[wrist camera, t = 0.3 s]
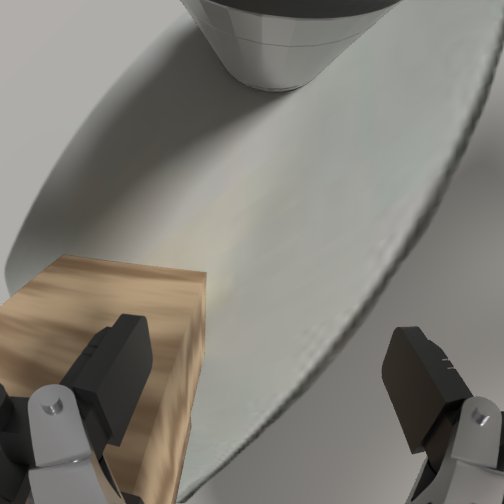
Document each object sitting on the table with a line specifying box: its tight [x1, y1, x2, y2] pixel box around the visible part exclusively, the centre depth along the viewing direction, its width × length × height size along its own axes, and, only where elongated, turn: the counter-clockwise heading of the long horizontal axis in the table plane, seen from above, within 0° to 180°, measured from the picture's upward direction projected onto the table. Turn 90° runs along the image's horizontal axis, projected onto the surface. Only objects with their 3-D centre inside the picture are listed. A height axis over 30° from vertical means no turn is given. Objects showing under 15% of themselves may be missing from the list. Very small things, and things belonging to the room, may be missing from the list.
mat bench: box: [0, 255, 206, 504], centre depth 20 cm, size 11×17×22 cm, turn 85°
